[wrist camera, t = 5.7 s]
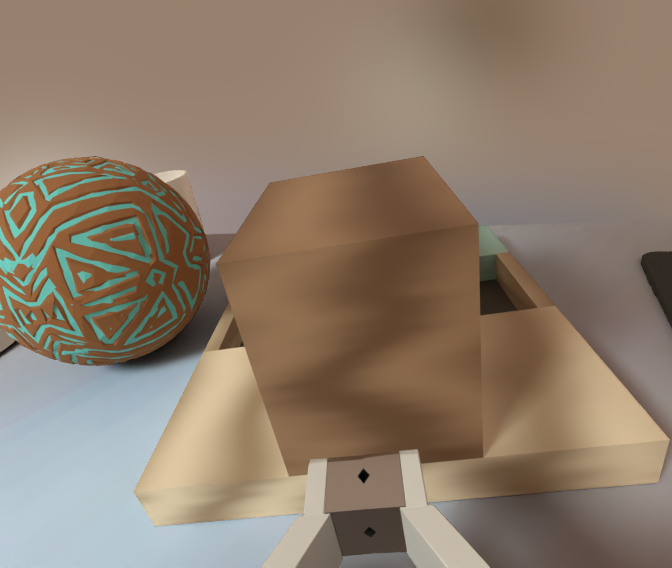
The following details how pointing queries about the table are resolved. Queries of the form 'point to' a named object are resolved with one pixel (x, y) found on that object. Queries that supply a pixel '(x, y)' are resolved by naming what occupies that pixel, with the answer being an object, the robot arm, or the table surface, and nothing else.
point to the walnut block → (362, 313)
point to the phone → (660, 278)
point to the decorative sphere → (98, 261)
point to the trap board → (439, 478)
